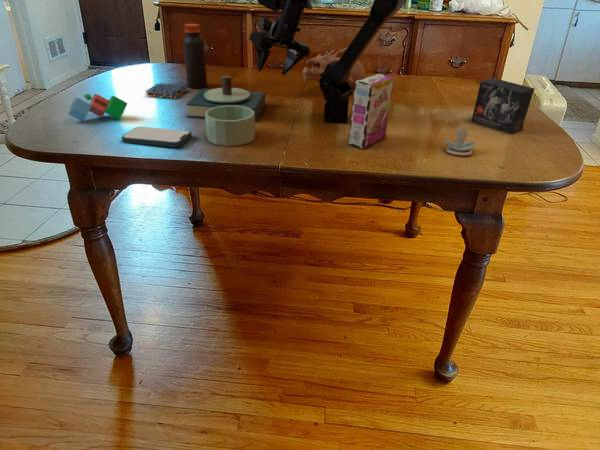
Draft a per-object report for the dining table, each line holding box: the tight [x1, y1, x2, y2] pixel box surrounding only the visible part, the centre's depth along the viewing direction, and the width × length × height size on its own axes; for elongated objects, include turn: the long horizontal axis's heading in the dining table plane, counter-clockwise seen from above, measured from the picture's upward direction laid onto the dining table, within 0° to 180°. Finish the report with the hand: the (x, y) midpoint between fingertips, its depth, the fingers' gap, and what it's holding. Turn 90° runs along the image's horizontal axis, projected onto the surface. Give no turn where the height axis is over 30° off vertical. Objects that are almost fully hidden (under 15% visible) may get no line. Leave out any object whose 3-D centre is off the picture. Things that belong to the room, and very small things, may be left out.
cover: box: [204, 75, 251, 103], centre depth 134 cm, size 14×14×6 cm
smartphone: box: [121, 126, 193, 148], centre depth 117 cm, size 9×2×16 cm
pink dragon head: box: [302, 47, 366, 88], centre depth 155 cm, size 13×15×25 cm
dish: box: [204, 105, 256, 147], centre depth 119 cm, size 13×13×6 cm
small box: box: [471, 77, 535, 134], centre depth 131 cm, size 13×7×12 cm, turn 40°
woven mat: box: [145, 82, 187, 100], centre depth 151 cm, size 10×11×2 cm
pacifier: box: [444, 126, 475, 157], centre depth 114 cm, size 7×6×6 cm
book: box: [185, 88, 266, 123], centre depth 137 cm, size 20×16×4 cm
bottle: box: [182, 23, 208, 90], centre depth 155 cm, size 7×7×20 cm
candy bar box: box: [348, 73, 395, 150], centre depth 116 cm, size 11×5×16 cm, turn 141°
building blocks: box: [67, 93, 128, 122], centre depth 127 cm, size 8×8×12 cm
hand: (271, 72), depth 135 cm, fingers open, 9 cm apart
